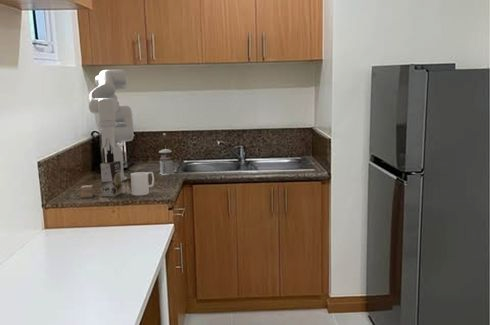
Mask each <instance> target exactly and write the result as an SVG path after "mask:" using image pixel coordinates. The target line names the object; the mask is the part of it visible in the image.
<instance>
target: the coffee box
mask: <svg viewBox="0 0 490 325" xmlns="http://www.w3.org/2000/svg"><path fill="white" fill-rule="evenodd" d="M100 176H101V177H100V178H101V189H102V190H101V192H102V197H116V196H119V195H121V194H122V193H123V181H122V178H121V163H120V161H114V162H102V163H100Z"/></svg>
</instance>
